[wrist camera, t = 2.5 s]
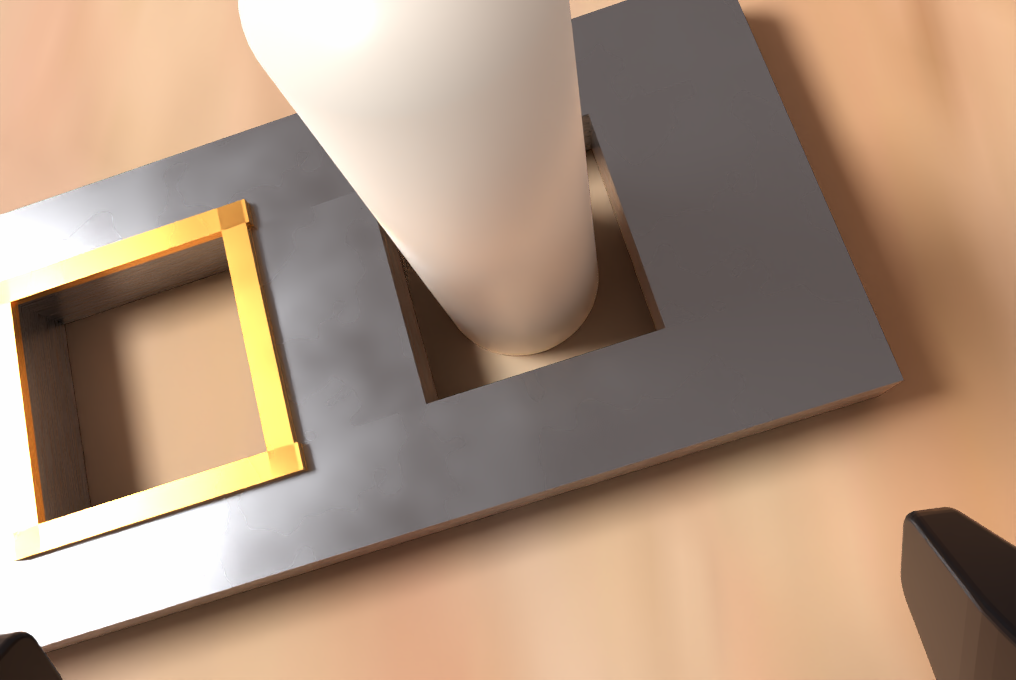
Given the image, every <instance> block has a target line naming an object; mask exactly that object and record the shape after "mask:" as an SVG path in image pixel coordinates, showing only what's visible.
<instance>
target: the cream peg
mask: <svg viewBox="0 0 1016 680" xmlns="http://www.w3.org/2000/svg"><path fill="white" fill-rule="evenodd" d="M238 7H239V14H240V19H241V24H242V28H243V31H244V33H245V36H246V39H247V41H248V44H249V46H250V48H251V50H252V51H253V53H254V55H255V57H256V58H257V60H258V62H259V63H260V64H261V66H262V67H263V68H264V70H265V71H266V72H267V74H268V75H269V76H270V78H271V79H272V80H273V82H274V83H275V84H276V86H277V87H278V88H279V90H280V91H281V92H282V94H283V95H284V96H285V98H286V99H287V100H288V102H289V103H290V104H291V106H292V107H293V108H294V110H295V111H296V112H297V114H298V115H299V116H300V118H301V119H302V120H303V122H304V123H305V124H306V126H307V127H308V128H309V130H310V131H311V132H312V134H313V135H314V136H315V138H316V139H317V140H318V142H319V143H320V144H321V146H322V147H323V148H324V150H325V151H326V152H327V154H328V155H329V156H330V158H331V159H332V160H333V162H334V163H335V164H336V166H337V167H338V168H339V170H340V171H341V172H342V174H343V175H344V176H345V178H346V179H347V180H348V182H349V183H350V184H351V186H352V187H353V188H354V190H355V191H356V192H357V194H358V195H359V196H360V198H361V199H362V200H363V202H364V203H365V204H366V206H367V207H368V209H369V210H370V211H371V213H372V214H373V215H374V217H375V218H376V219H377V221H378V222H379V223H380V225H381V226H382V227H383V229H384V230H385V231H386V233H387V234H388V235H389V237H390V238H391V239H392V241H393V242H394V243H395V245H396V246H397V247H398V249H399V250H400V251H401V253H402V254H403V255H404V257H405V258H406V259H407V261H408V262H409V263H410V265H411V266H412V267H413V269H414V270H415V271H416V273H417V274H418V275H419V277H420V278H421V279H422V281H423V282H424V283H425V285H426V286H427V287H428V289H429V290H430V291H431V293H432V294H433V295H434V297H435V298H436V299H437V301H438V302H439V303H440V305H441V306H442V307H443V309H444V310H445V311H446V313H447V314H448V315H449V317H450V318H451V319H452V321H453V322H454V323H455V325H456V326H457V327H458V328H459V330H460V331H461V332H462V333H463V334H464V335H465V336H466V337H467V338H468V339H470V340H471V341H472V342H474V343H475V344H477V345H479V346H480V347H482V348H484V349H487V350H489V351H492V352H495V353H499V354H503V355H513V356H521V355H531V354H536V353H540V352H543V351H546V350H548V349H551V348H553V347H555V346H557V345H559V344H560V343H562V342H564V341H565V340H566V339H568V338H569V337H570V336H571V335H573V334H574V333H575V332H576V331H577V330H578V328H579V327H580V326H581V325H582V324H583V322H584V321H585V320H586V318H587V316H588V315H589V313H590V311H591V309H592V307H593V304H594V302H595V298H596V294H597V290H598V281H599V280H598V264H597V255H596V245H595V236H594V227H593V218H592V208H591V199H590V190H589V180H588V171H587V162H586V153H585V143H584V134H583V125H582V115H581V106H580V97H579V88H578V78H577V69H576V60H575V50H574V41H573V32H572V23H571V13H570V4H569V0H238Z"/></svg>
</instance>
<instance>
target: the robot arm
mask: <svg viewBox="0 0 1016 680" xmlns="http://www.w3.org/2000/svg"><path fill="white" fill-rule="evenodd" d="M901 582H902V588H903V592H904V595H905V598H906V601H907V604H908V607H909V609H910V612H911V615H912V617H913V620H914V622H915V625H916V628H917V630H918V633H919V635H920V638H921V641H922V643H923V646H924V649H925V651H926V654H927V656H928V659H929V662H930V664H931V667H932V670H933V672H934V675H935V677H936V680H1016V547H1015V546H1014V545H1012V544H1011V543H1009V542H1007V541H1006V540H1004V539H1003V538H1001V537H1000V536H998V535H996V534H995V533H993V532H992V531H990V530H988V529H987V528H985V527H984V526H982V525H981V524H979V523H977V522H976V521H974V520H973V519H971V518H970V517H968V516H966V515H965V514H963V513H962V512H960V511H958V510H956V509H953V508H950V507H942V508H934V509H927V510H919V511H913V512H911V513H909V514H908V515H907V516H906V518H905V520H904V525H903V541H902V559H901ZM0 680H63V679H62V677H61V676H60V674H59V673H58V671H57V670H56V668H55V667H54V665H53V664H52V662H51V661H50V659H49V658H48V656H47V655H46V653H45V652H44V651H43V649H42V648H41V646H40V645H39V643H38V642H37V640H36V639H35V638H34V637H33V635H31V634H29V633H27V632H25V631H15V632H8V633H0Z"/></svg>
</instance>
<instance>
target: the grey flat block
mask: <svg viewBox="0 0 1016 680" xmlns="http://www.w3.org/2000/svg"><path fill="white" fill-rule="evenodd" d="M571 23H572V32H573V41H574V50H575V60H576V69H577V78H578V88H579V97H580V106H581V115H582V125H583V134H584V143H585V151H587V150H590V149H592V151H593V154H594V157H595V160H596V163H597V165H598V168H599V171H600V174H601V177H602V179H603V182H604V185H605V188H606V191H607V193H608V196H609V199H610V202H611V205H612V207H613V210H614V213H615V216H616V219H617V221H618V224H619V227H620V230H621V233H622V235H623V238H624V241H625V244H626V247H627V249H628V252H629V255H630V258H631V261H632V263H633V266H634V269H635V272H636V275H637V278H638V280H639V283H640V286H641V289H642V292H643V294H644V297H645V300H646V303H647V306H648V308H649V311H650V314H651V317H652V320H653V322H654V325H655V328H656V331H655V332H651V333H648V334H645V335H642V336H639V337H636V338H632V339H629V340H626V341H623V342H620V343H617V344H614V345H610V346H607V347H604V348H601V349H598V350H595V351H592V352H588V353H585V354H582V355H579V356H576V357H573V358H570V359H566V360H563V361H560V362H557V363H554V364H551V365H548V366H544V367H541V368H538V369H535V370H532V371H529V372H526V373H522V374H519V375H516V376H513V377H510V378H507V379H504V380H500V381H497V382H494V383H491V384H488V385H485V386H482V387H478V388H475V389H472V390H469V391H466V392H463V393H459V394H456V395H453V396H450V397H447V398H444V399H441V400H438V396H437V393H436V389H435V385H434V381H433V378H432V374H431V370H430V367H429V363H428V359H427V356H426V352H425V348H424V345H423V341H422V337H421V334H420V330H419V326H418V323H417V319H416V315H415V312H414V308H413V304H412V300H411V297H410V293H409V289H408V286H407V282H406V278H405V275H404V271H403V267H402V264H401V260H400V256H399V253H398V249H397V246H396V245H395V243H394V242H393V241H392V239H391V238H390V237H389V235H388V234H387V233H386V231H385V230H384V229H383V227H382V226H381V225H380V223H379V222H378V221H377V219H376V218H375V217H374V215H373V214H372V213H371V211H370V210H369V209H368V207H367V206H366V204H365V203H364V202H363V200H362V199H361V198H360V196H359V195H358V194H357V192H356V191H355V190H354V188H353V187H352V186H351V184H350V183H349V182H348V180H347V179H346V178H345V176H344V175H343V174H342V172H341V171H340V170H339V168H338V167H337V166H336V164H335V163H334V162H333V160H332V159H331V158H330V156H329V155H328V154H327V152H326V151H325V150H324V148H323V147H322V146H321V144H320V143H319V142H318V140H317V139H316V138H315V136H314V135H313V134H312V132H311V131H310V130H309V128H308V127H307V126H306V124H305V123H304V122H303V120H302V119H301V118H300V116H299V115H298V114H297V113H296V114H293V115H290V116H287V117H285V118H282V119H279V120H276V121H273V122H270V123H267V124H264V125H261V126H258V127H255V128H252V129H250V130H247V131H244V132H241V133H238V134H235V135H232V136H229V137H226V138H223V139H220V140H217V141H215V142H212V143H209V144H206V145H203V146H200V147H197V148H194V149H191V150H188V151H185V152H182V153H179V154H177V155H174V156H171V157H168V158H165V159H162V160H159V161H156V162H153V163H150V164H147V165H144V166H142V167H139V168H136V169H133V170H130V171H127V172H124V173H121V174H118V175H115V176H112V177H109V178H107V179H104V180H101V181H98V182H95V183H92V184H89V185H86V186H83V187H80V188H77V189H74V190H71V191H69V192H66V193H63V194H60V195H57V196H54V197H51V198H48V199H45V200H42V201H39V202H36V203H34V204H31V205H28V206H25V207H22V208H19V209H16V210H13V211H10V212H7V213H4V214H1V215H0V633H8V632H15V631H25V632H27V633H29V634H31V635H33V637H34V638H35V639H36V640H37V642H38V643H39V645H40V646H41V648H42V649H43V651H44V652H45V653H46V652H50V651H53V650H56V649H59V648H63V647H66V646H69V645H72V644H76V643H79V642H82V641H85V640H88V639H92V638H95V637H98V636H101V635H105V634H108V633H111V632H114V631H118V630H121V629H124V628H127V627H131V626H134V625H137V624H140V623H144V622H147V621H150V620H153V619H157V618H160V617H163V616H166V615H170V614H173V613H176V612H179V611H183V610H186V609H189V608H192V607H196V606H199V605H202V604H205V603H209V602H212V601H215V600H218V599H221V598H225V597H228V596H231V595H234V594H238V593H241V592H244V591H247V590H251V589H254V588H257V587H260V586H264V585H267V584H270V583H273V582H277V581H280V580H283V579H286V578H290V577H293V576H296V575H299V574H303V573H306V572H309V571H312V570H316V569H319V568H322V567H325V566H329V565H332V564H335V563H338V562H342V561H345V560H348V559H351V558H354V557H358V556H361V555H364V554H367V553H371V552H374V551H377V550H380V549H384V548H387V547H390V546H393V545H397V544H400V543H403V542H406V541H410V540H413V539H416V538H419V537H423V536H426V535H429V534H432V533H436V532H439V531H442V530H445V529H449V528H452V527H455V526H458V525H462V524H465V523H468V522H471V521H475V520H478V519H481V518H484V517H487V516H491V515H494V514H497V513H500V512H504V511H507V510H510V509H513V508H517V507H520V506H523V505H526V504H530V503H533V502H536V501H539V500H543V499H546V498H549V497H552V496H556V495H559V494H562V493H565V492H569V491H572V490H575V489H578V488H582V487H585V486H588V485H591V484H595V483H598V482H601V481H604V480H608V479H611V478H614V477H617V476H620V475H624V474H627V473H630V472H633V471H637V470H640V469H643V468H646V467H650V466H653V465H656V464H659V463H663V462H666V461H669V460H672V459H676V458H679V457H682V456H685V455H689V454H692V453H695V452H698V451H702V450H705V449H708V448H711V447H715V446H718V445H721V444H724V443H728V442H731V441H734V440H737V439H741V438H744V437H747V436H750V435H753V434H757V433H760V432H763V431H766V430H770V429H773V428H776V427H779V426H783V425H786V424H789V423H792V422H796V421H799V420H802V419H805V418H809V417H812V416H815V415H818V414H822V413H825V412H828V411H831V410H835V409H838V408H841V407H844V406H848V405H851V404H854V403H857V402H861V401H864V400H867V399H870V398H874V397H877V396H880V395H881V394H883V393H884V392H886V391H887V390H889V389H891V388H892V387H894V386H895V385H897V384H898V383H900V382H901V381H903V380H904V379H903V377H902V375H901V372H900V370H899V368H898V365H897V363H896V361H895V359H894V356H893V354H892V352H891V349H890V347H889V345H888V343H887V340H886V338H885V336H884V333H883V331H882V329H881V327H880V324H879V322H878V320H877V317H876V315H875V313H874V311H873V308H872V306H871V304H870V301H869V299H868V297H867V295H866V292H865V290H864V288H863V285H862V283H861V281H860V279H859V276H858V274H857V272H856V269H855V267H854V265H853V263H852V260H851V258H850V256H849V253H848V251H847V249H846V247H845V244H844V242H843V240H842V237H841V235H840V233H839V231H838V228H837V226H836V224H835V221H834V219H833V217H832V215H831V212H830V210H829V208H828V205H827V203H826V201H825V199H824V196H823V194H822V192H821V189H820V187H819V185H818V183H817V180H816V178H815V176H814V173H813V171H812V169H811V167H810V164H809V162H808V160H807V157H806V155H805V153H804V151H803V148H802V146H801V144H800V141H799V139H798V137H797V135H796V132H795V130H794V128H793V125H792V123H791V121H790V119H789V116H788V114H787V112H786V109H785V107H784V105H783V103H782V100H781V98H780V96H779V93H778V91H777V89H776V87H775V84H774V82H773V80H772V77H771V75H770V73H769V71H768V68H767V66H766V64H765V61H764V59H763V57H762V55H761V52H760V50H759V48H758V45H757V43H756V41H755V39H754V36H753V34H752V32H751V29H750V27H749V25H748V23H747V20H746V18H745V16H744V13H743V11H742V9H741V7H740V4H739V2H738V0H626V1H623V2H620V3H617V4H614V5H612V6H609V7H606V8H603V9H600V10H597V11H594V12H591V13H588V14H585V15H582V16H579V17H576V18H574V19H571ZM226 270H230V275H231V279H232V284H233V289H234V294H235V299H236V303H237V308H238V313H239V318H240V323H241V327H242V332H243V337H244V342H245V347H246V352H247V356H248V361H249V366H250V371H251V376H252V380H253V385H254V390H255V395H256V400H257V404H258V409H259V414H260V419H261V424H262V429H263V433H264V438H265V443H266V448H267V452H265V453H261V454H258V455H255V456H252V457H249V458H246V459H243V460H239V461H236V462H233V463H230V464H227V465H224V466H221V467H217V468H214V469H211V470H208V471H205V472H202V473H199V474H195V475H192V476H189V477H186V478H183V479H180V480H177V481H173V482H170V483H167V484H164V485H161V486H158V487H155V488H151V489H148V490H145V491H142V492H139V493H136V494H133V495H129V496H126V497H123V498H120V499H117V500H114V501H111V502H107V503H104V504H101V505H98V506H95V507H92V508H91V505H90V498H89V491H88V484H87V477H86V470H85V464H84V457H83V450H82V443H81V436H80V429H79V422H78V415H77V408H76V401H75V394H74V387H73V380H72V373H71V367H70V360H69V353H68V346H67V339H66V332H65V325H64V324H66V323H69V322H72V321H75V320H78V319H81V318H84V317H87V316H91V315H94V314H97V313H100V312H103V311H106V310H109V309H112V308H115V307H118V306H121V305H124V304H127V303H130V302H133V301H136V300H139V299H142V298H145V297H148V296H151V295H154V294H157V293H160V292H163V291H166V290H169V289H172V288H175V287H178V286H181V285H184V284H187V283H190V282H193V281H196V280H199V279H202V278H205V277H208V276H211V275H214V274H217V273H220V272H223V271H226Z"/></svg>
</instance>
